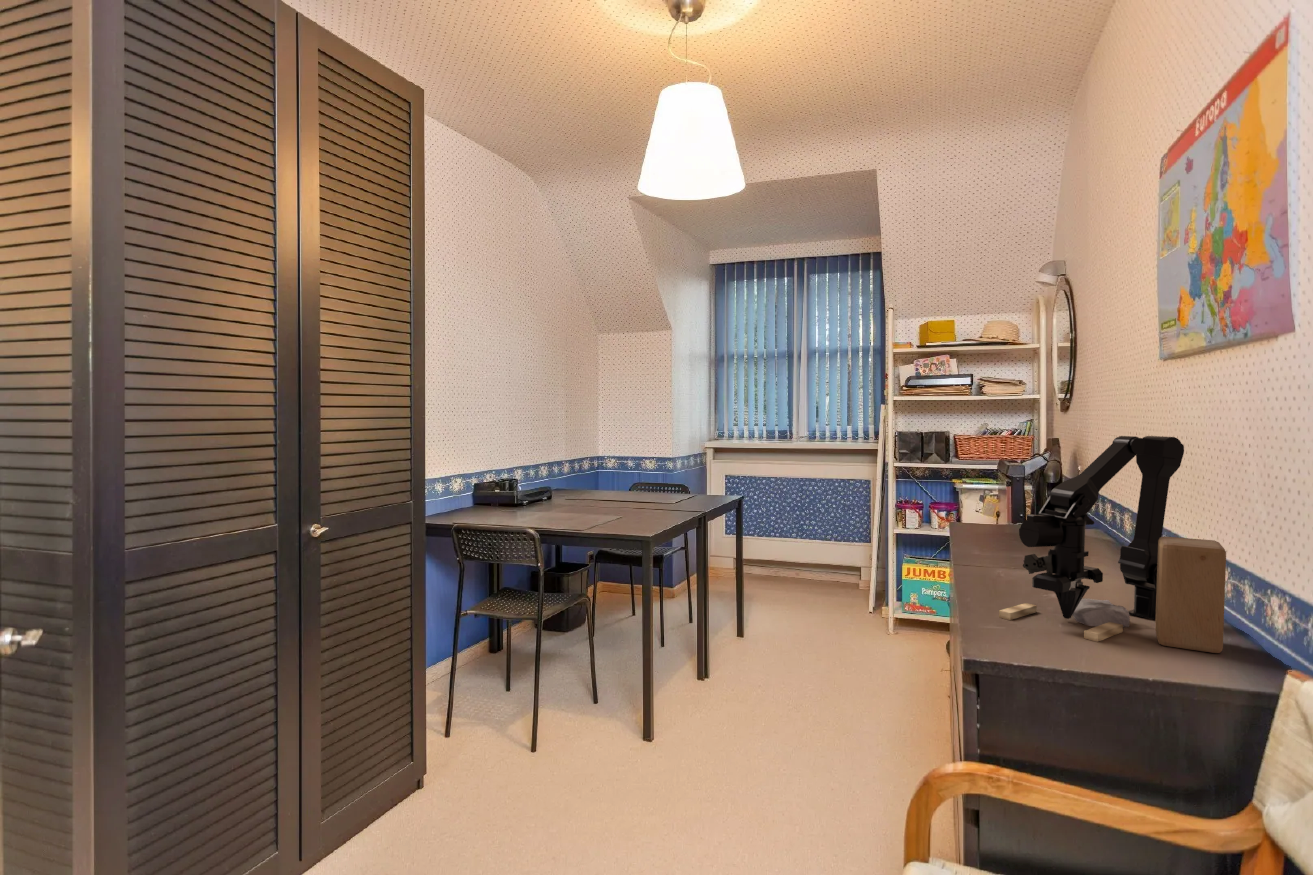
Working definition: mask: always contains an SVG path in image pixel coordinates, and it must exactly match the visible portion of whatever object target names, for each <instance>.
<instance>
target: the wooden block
mask: <svg viewBox="0 0 1313 875" xmlns="http://www.w3.org/2000/svg"><path fill="white" fill-rule="evenodd" d="M1226 569H1227V551H1226V549H1225V547H1223V545H1222V544H1221V543H1220V542H1219V541H1217V540H1215V539H1214V540H1213V539H1201V538H1189V537H1188V538H1187V537H1177V536H1162V537H1160V538H1159V540H1158V561H1157V591H1156V620H1155V625H1154V627H1155V628H1154V629H1155V634H1156V639H1157V642H1158V644H1159V645H1162V646H1163V647H1168V648H1169V647H1170V648H1176V649H1184V650H1190V651H1197V652H1203V653H1211V654H1220V653H1222V651H1223V650H1224V624H1225V598H1226V573H1227V572H1226V571H1227V570H1226Z"/></svg>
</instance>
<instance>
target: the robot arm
mask: <svg viewBox="0 0 1313 875" xmlns="http://www.w3.org/2000/svg"><path fill="white" fill-rule="evenodd" d="M1184 455H1185V445H1184V444H1183V443H1182V442H1181V440H1180V439H1179V438H1177V437H1174V436H1155V435H1145V436H1144V437H1142V438H1141V437H1139V436H1133V435H1132V436H1131V435H1120V436H1117V437H1115V438H1114V439H1113V440H1112V443H1111V444H1110V445H1109V446H1108V447H1107V448H1106V449H1105V450H1104V451H1103V452H1101V454H1100V455H1099V456H1098V457H1097V458H1095V459H1094V460H1093V461H1092V462H1091V463H1090V464H1088V466H1087V467H1086V468H1085V469H1084V470H1083V471H1082V472H1081V473H1080V474H1078V475H1077V476H1074V477H1071V478H1069V479H1066V480H1064V481H1062V482H1061V483H1060V484H1058V485H1056V486H1055V487H1054V488H1053V489H1052V490H1051V491H1050V492H1049V497H1048V498H1047V500H1046V501H1045V503H1044V504H1043V506H1042V507H1041V509H1040V510H1039V511H1038V514H1027V515H1026V520H1024V521H1023V522H1022V523H1021V525H1020V528H1019V530H1018V534H1019V538H1020V542H1021V543H1022V544H1023V545H1024V546H1025V547H1027V548H1044V547H1047V548H1048V547H1053V548H1049V550H1048V552H1047V555H1044V556H1037V554H1036V553H1032V554H1027V555H1024V558H1023V563H1022V567H1023V568H1024V569H1025V570H1027V572H1028V574H1029V575H1033V574H1034V573H1038V574H1036V575H1034V576H1033V577H1032V578H1031V579H1032V580H1031V587H1032V588H1034V589H1040V590H1045V591H1050V592H1053V593H1054V594H1055V596H1056V597H1057V600H1058V604H1059V607H1060V610H1061V614H1062V617H1063V618H1064V619H1068V620H1070V619H1071V618H1072V616H1073V613H1074V611H1075V609H1076V608H1077V606H1078V604H1079V603H1080V601H1081V599H1083V598H1084V596H1085V595H1086V593H1087V591H1088V590H1090V587H1091V586H1089V585H1085V584H1084V582H1083V581H1082V580H1083V579H1086V580H1091V581H1093V583H1095V584H1099V583H1102V582H1103V581H1104V580H1103V578H1104V573H1103V571H1101V569H1100V568H1098V567H1092V566H1087V565H1085V557H1089V550H1086V549H1085V547H1086V546H1085V543H1086V526H1091V525H1094V524H1095V521H1094V520H1093V519H1092V518H1090V516H1088V514H1089V512H1090V511H1091V510H1092V508H1093V507H1094V505H1095V504H1096V503H1097V501H1098V500H1099V492H1100V491H1101V490H1102V488H1104V486H1106V484H1108V482H1110V481H1111V480H1112V478H1114V477H1115V476H1116V475H1117V474H1118V473H1119V472H1120V471H1121V470H1123V468H1124V467H1126V465H1127V464H1128V463H1130V462H1131V461H1132V459H1133V458H1134V457H1135V462H1136V464H1137V466H1138V469H1139V470H1140V473H1141V476H1142V477H1141V481H1140V482H1141V485H1140V490H1139V491H1140V492H1139V499H1138V506H1137V512H1136V520H1135V526H1134V535H1133V539H1132V540H1131V541H1130V543H1129V544H1128V545H1121V547H1120V552H1119V553H1120V554H1119V555H1120V556H1119V560H1118V562H1117V564H1119V569H1120V570H1119V571H1120V573H1122V576H1123V580H1124V584H1125V585H1131V586H1133V587H1134V591H1133V592H1134V594H1133V609H1131V610H1128V611H1129V615H1131V616H1134V617H1135V616H1136V617H1140V618H1145V619H1150V620H1153V621H1154V620H1155V621H1156V591H1157V561H1158V540H1159V538H1160V537H1163V536H1162V535H1163V530H1164V522H1165V515H1166V509H1167V500H1168V495H1169V485H1170V480H1171V478H1172V476H1173V475H1174V474H1175V473H1176V472H1177V471H1178V469H1179V468H1180V467H1181V465H1182V460H1183V457H1184ZM1045 571H1046V572H1045ZM1040 572H1041V573H1040Z"/></svg>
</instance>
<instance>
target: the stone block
mask: <svg viewBox="0 0 1313 875" xmlns="http://www.w3.org/2000/svg"><path fill="white" fill-rule="evenodd" d="M1129 611H1130V610H1128V609H1127V608H1126V606H1125V607H1124V606H1122V605H1117V604H1113V603H1112V602H1111V601H1110V600H1109V599H1105V600H1104V599H1103V600H1102V599H1093V598H1084V597H1083V598H1082V599H1081V601H1080V603H1079V604H1078V606H1077V608H1076V609H1075V611H1074V613H1073V615H1072V616H1073V618H1074V619H1075V621H1076V622H1077V623H1080V624H1083V625H1086V626H1089V627H1096V626H1099V625H1102V624H1105V623H1108V622H1113V623H1117V624H1122V625H1123V628H1129V627H1130V614H1129Z"/></svg>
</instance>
